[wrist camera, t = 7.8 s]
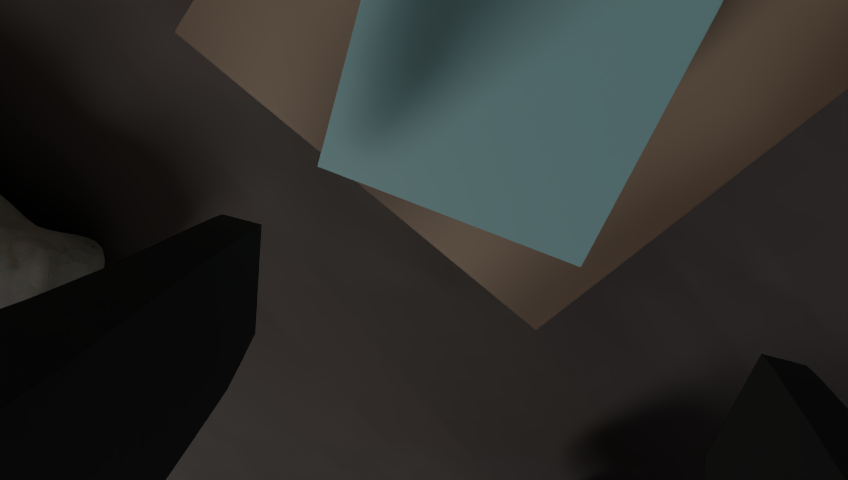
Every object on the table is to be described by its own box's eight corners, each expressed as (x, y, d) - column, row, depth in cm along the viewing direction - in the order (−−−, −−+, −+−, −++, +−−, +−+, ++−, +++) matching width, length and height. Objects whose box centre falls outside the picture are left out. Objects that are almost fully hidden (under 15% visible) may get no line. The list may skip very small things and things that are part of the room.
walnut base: (925, -34, 16) (975, -10, 14) (541, 280, 22) (535, 330, 20) (525, -476, 14) (512, -528, 12) (219, 8, 20) (174, 31, 18)
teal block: (689, -61, 14) (727, -7, 10) (584, 155, 17) (580, 267, 13) (453, -150, 15) (395, -134, 10) (385, 79, 17) (317, 166, 13)
